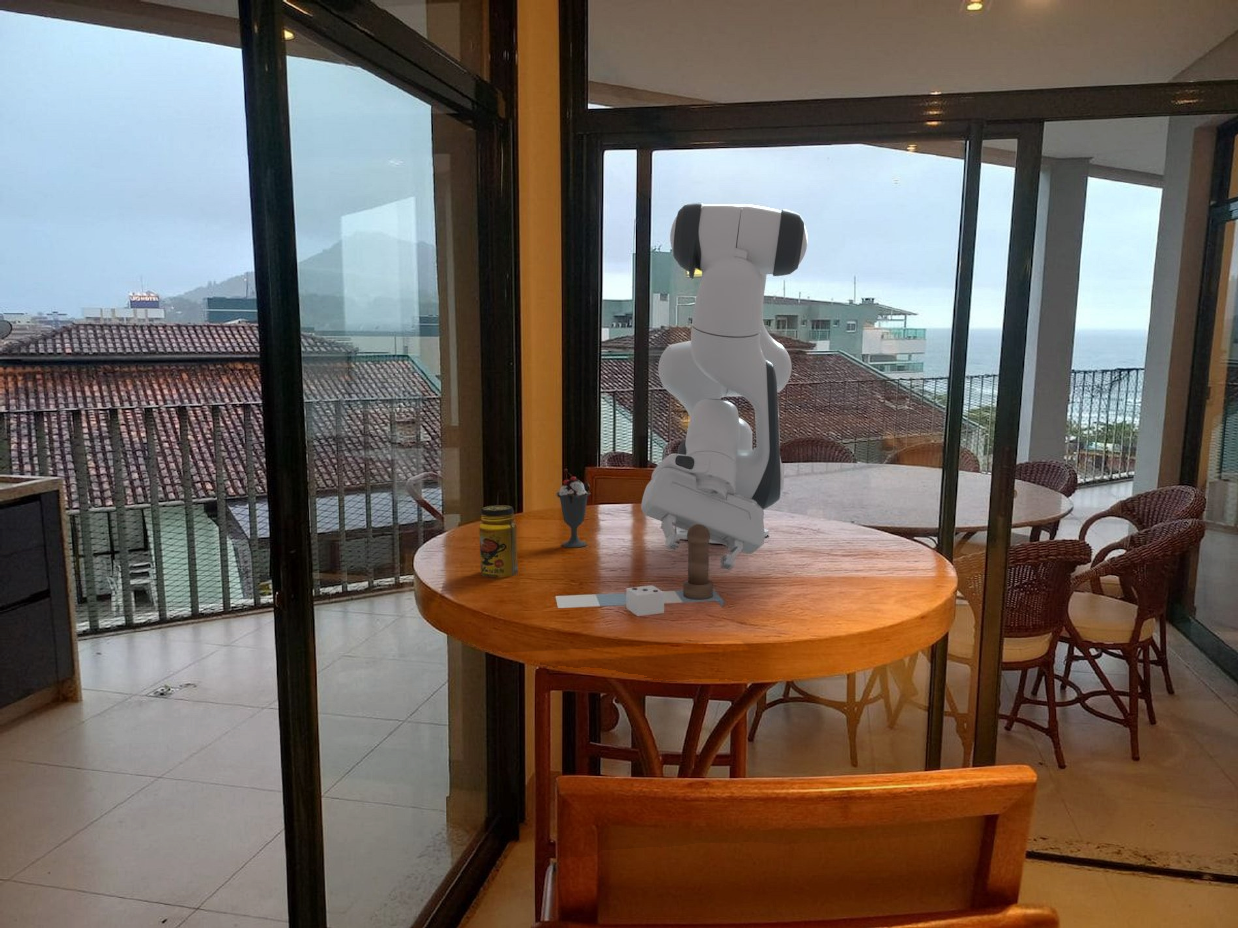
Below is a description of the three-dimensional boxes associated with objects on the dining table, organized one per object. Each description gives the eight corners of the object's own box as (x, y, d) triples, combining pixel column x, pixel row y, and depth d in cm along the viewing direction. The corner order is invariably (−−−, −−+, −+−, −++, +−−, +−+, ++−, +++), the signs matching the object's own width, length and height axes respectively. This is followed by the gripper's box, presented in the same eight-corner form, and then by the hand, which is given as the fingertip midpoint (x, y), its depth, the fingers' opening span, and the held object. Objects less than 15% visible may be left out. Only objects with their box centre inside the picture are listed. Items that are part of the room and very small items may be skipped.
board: (555, 602, 128) (555, 596, 128) (713, 595, 131) (713, 589, 131) (558, 614, 122) (558, 607, 122) (723, 606, 125) (723, 600, 125)
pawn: (678, 593, 129) (678, 523, 127) (703, 590, 130) (704, 520, 129) (692, 601, 125) (692, 528, 123) (718, 597, 126) (719, 526, 125)
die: (626, 615, 122) (626, 587, 121) (652, 612, 123) (652, 584, 123) (637, 623, 118) (637, 594, 118) (664, 620, 120) (664, 591, 119)
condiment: (474, 584, 138) (472, 511, 137) (483, 571, 147) (481, 502, 145) (520, 584, 138) (518, 511, 137) (526, 571, 147) (524, 501, 145)
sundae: (552, 548, 164) (551, 469, 162) (563, 540, 170) (561, 465, 168) (585, 549, 162) (585, 470, 160) (595, 542, 168) (594, 466, 166)
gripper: (753, 512, 142) (748, 586, 134) (643, 469, 137) (631, 543, 129) (774, 495, 137) (770, 571, 129) (660, 450, 132) (649, 525, 124)
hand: (699, 557), depth 129 cm, fingers open, 8 cm apart
